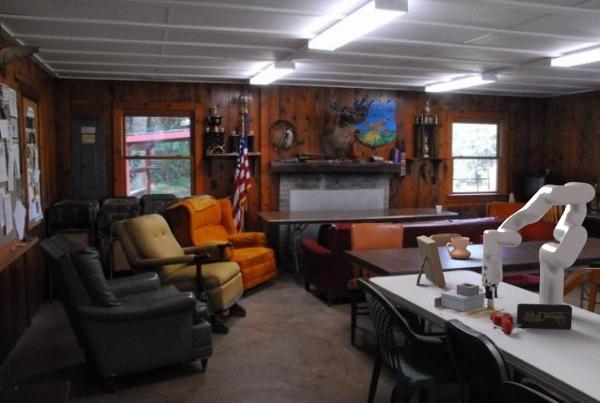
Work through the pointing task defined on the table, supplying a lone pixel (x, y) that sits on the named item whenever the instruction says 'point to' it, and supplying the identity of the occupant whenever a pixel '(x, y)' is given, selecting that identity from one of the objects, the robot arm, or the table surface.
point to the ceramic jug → (459, 248)
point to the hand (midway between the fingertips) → (491, 297)
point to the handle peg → (491, 300)
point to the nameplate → (544, 316)
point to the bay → (472, 313)
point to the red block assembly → (503, 322)
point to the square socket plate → (463, 297)
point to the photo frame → (430, 261)
